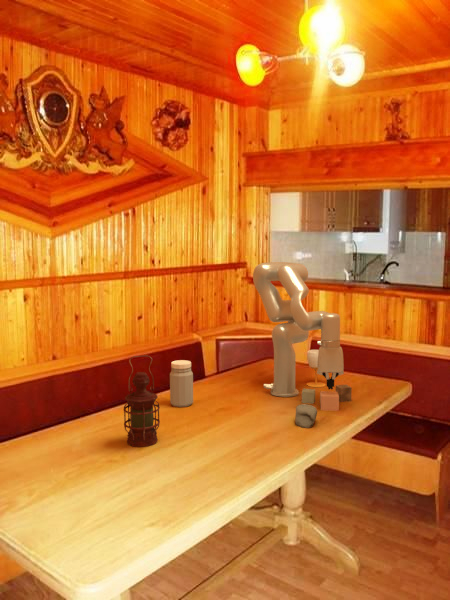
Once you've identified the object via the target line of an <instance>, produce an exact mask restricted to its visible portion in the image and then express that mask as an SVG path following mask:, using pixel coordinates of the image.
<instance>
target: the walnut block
mask: <svg viewBox="0 0 450 600" xmlns="http://www.w3.org/2000/svg"><path fill="white" fill-rule="evenodd" d="M335 392H338V395H339V403H344V402H345V403H346V401H347V402H352V386H350V385H348V384H336V385H335Z"/></svg>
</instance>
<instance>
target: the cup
mask: <svg viewBox="0 0 450 600" xmlns="http://www.w3.org/2000/svg"><path fill="white" fill-rule="evenodd" d="M318 353H319V349H309V350H307V353H306V360H307V363H308V366H309V367H310V368H311V369H313V370H314V371H315V372H314V373H315V375H314V376H315V379H314V381H310V382H307V383H306V386H307V385H308V387H310V388H324V387H325V386H326V387H327V383H324V382H321V381H318V374H317V370H318Z"/></svg>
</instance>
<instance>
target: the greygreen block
mask: <svg viewBox="0 0 450 600" xmlns="http://www.w3.org/2000/svg"><path fill="white" fill-rule="evenodd" d="M315 402H316V389H315V388H302V391H301V404H308V403H309V404H308V405H314V403H315Z"/></svg>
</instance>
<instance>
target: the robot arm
mask: <svg viewBox="0 0 450 600" xmlns="http://www.w3.org/2000/svg"><path fill="white" fill-rule="evenodd" d="M308 278H309V270H308V269H307V267H306V266H305V265H304V264H302V263H296V262H288V261H275V262H273V261H271V262H262V263H260V264H257V265H256V266H255V267H254V269H253V273H252V279H253V280H252V281H253V284H254V287H255V289H256V291H257V293H258V295H259V297H260V298H261V301H262V304H263V307H264V309H265V312H266V314H267V317H268V319H269V321H271V322H272V323H279V324H276V325H275V326H273V328H272V330H271V339H272V344H273V345H272V346H273V382H271V383H263V388H264V389H267V390H269V392H270V394H271V395H272V396H275V397H279V398H280V397H282V398H288V397H289V398H292V397H295V396H298V395H299V393H300V392H299V390H298V389H297V388H296V361H297V360H296V359H297V358H296V351H295V348H294V347H293V345H294V344H299V343H300V344H301V343H304V342H306V341H307V340H308V339H309V334H310V332H309V331H316V330H320V334H321V335H320V340H317V345H319V348H318V350H319V353H318V370H317V375H320V376H323V377H324V378H325V380H326V387H328V388H327V389H328V390H333V388H334V387H335V380H336V379H337V377H339V376H343V375H344V374H345V372H344V369H345V367H344V366H345V365H344V362H345V361H344V352H343V348H342V346H341V316H340V314H338V313H335V312H327V311H324V310H318V311H317V310H315V311H307V310H306V309H305V308H304V306H303V303H302V301H303V300H304V299H305V298H306V297H307V296H308V294H309V291H310V289H309V287H308V286H307V284H306V283H305V282H306V281H307V279H308ZM277 281H279V282H280V284H281V285H282V287H283V288H284V290H285V291H286V292H287V295H288V296H289V298H290V299H285V300H284V299H283V298H282V296H281V294H280V291H279V289H278V288H277V287H276V286H275V285H274V284H273V283H272V282H277ZM330 374H331V377H330Z"/></svg>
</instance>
